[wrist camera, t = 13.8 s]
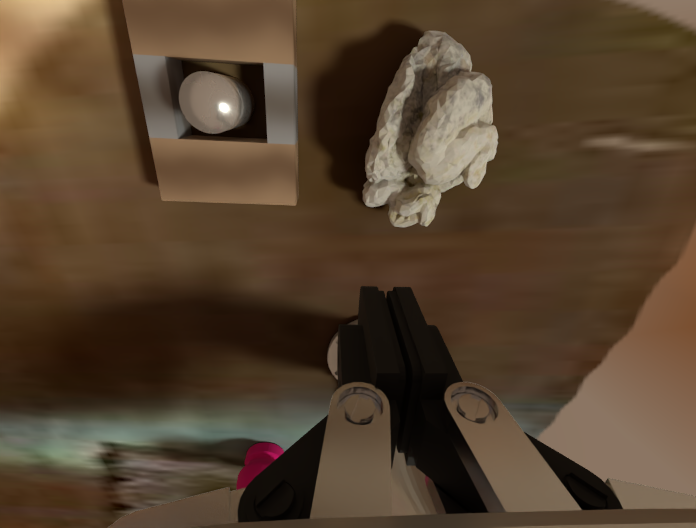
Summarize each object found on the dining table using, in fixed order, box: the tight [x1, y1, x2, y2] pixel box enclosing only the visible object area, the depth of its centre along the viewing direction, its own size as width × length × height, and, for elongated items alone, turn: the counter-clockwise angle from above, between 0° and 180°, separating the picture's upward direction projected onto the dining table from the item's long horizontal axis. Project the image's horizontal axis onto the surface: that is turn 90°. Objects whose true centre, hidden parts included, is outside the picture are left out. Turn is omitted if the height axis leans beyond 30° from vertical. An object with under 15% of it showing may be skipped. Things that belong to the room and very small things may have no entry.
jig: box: [122, 0, 299, 205], centre depth 31 cm, size 18×13×4 cm
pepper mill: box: [237, 442, 284, 490], centre depth 47 cm, size 7×7×20 cm
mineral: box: [362, 31, 498, 227], centre depth 31 cm, size 12×17×10 cm
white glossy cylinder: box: [179, 71, 255, 134], centre depth 29 cm, size 4×4×7 cm
